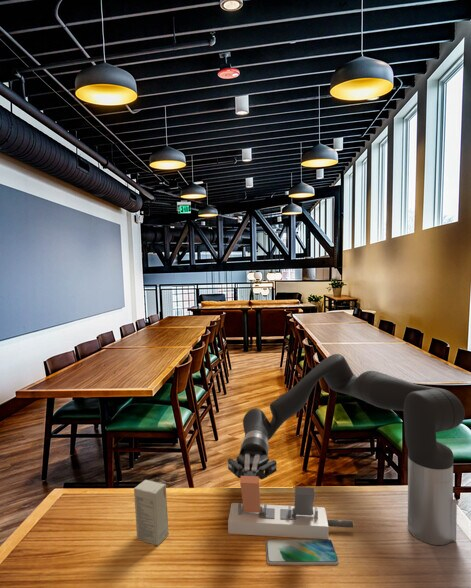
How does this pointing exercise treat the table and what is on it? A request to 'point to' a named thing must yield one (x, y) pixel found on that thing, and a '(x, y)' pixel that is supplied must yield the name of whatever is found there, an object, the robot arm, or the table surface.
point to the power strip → (282, 522)
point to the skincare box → (151, 511)
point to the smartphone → (301, 552)
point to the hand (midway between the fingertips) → (248, 484)
